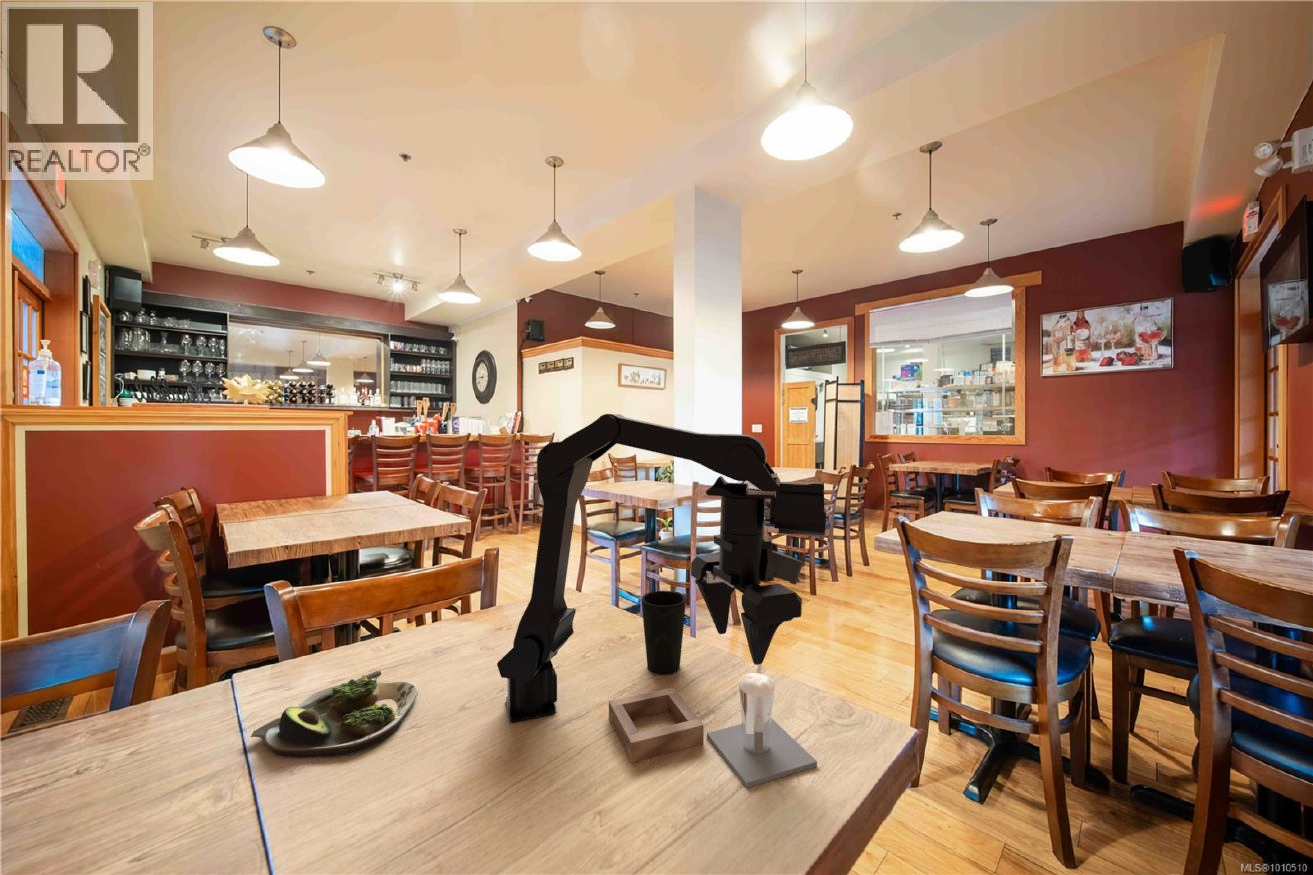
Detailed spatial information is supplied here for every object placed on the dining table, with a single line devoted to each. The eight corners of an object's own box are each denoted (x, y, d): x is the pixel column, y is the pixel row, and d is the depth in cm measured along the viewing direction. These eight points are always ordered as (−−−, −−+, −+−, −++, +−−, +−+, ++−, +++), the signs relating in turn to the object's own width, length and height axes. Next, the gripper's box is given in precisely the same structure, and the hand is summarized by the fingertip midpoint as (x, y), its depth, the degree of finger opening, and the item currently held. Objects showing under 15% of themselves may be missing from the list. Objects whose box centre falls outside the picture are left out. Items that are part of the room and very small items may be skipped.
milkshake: (777, 736, 67) (777, 661, 66) (772, 761, 62) (772, 681, 61) (742, 728, 68) (743, 656, 68) (735, 753, 63) (735, 675, 63)
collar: (631, 762, 62) (631, 742, 62) (608, 718, 72) (608, 701, 72) (703, 743, 66) (703, 724, 66) (673, 703, 75) (673, 687, 75)
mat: (746, 788, 58) (746, 782, 58) (706, 737, 67) (706, 733, 67) (817, 766, 62) (817, 761, 62) (769, 720, 71) (769, 716, 71)
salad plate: (328, 682, 82) (327, 655, 82) (438, 680, 83) (438, 653, 83) (231, 763, 63) (230, 726, 63) (377, 760, 63) (376, 724, 63)
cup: (686, 678, 83) (686, 606, 82) (640, 678, 83) (640, 606, 83) (684, 656, 90) (685, 590, 90) (642, 656, 91) (642, 590, 90)
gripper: (841, 543, 60) (836, 671, 61) (756, 514, 77) (753, 614, 78) (761, 550, 56) (757, 687, 57) (690, 518, 73) (688, 623, 74)
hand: (738, 647), depth 66 cm, fingers open, 9 cm apart
